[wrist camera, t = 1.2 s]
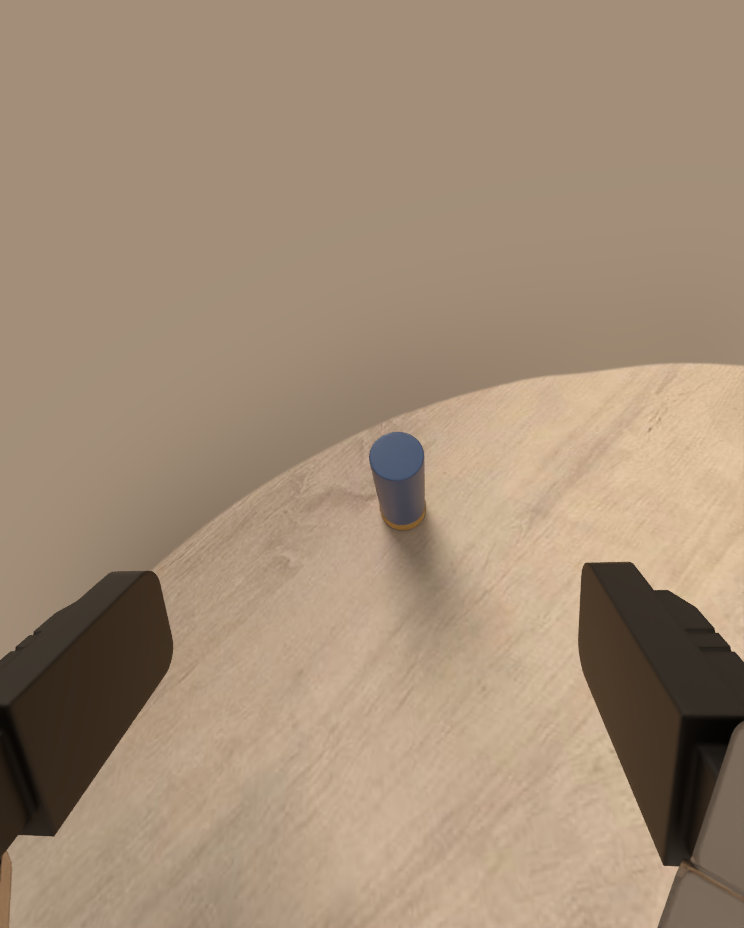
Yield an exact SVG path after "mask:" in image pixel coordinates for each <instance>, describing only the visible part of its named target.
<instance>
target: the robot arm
mask: <svg viewBox="0 0 744 928" xmlns="http://www.w3.org/2000/svg"><path fill="white" fill-rule="evenodd" d="M578 646H579V655H580V661H581V666H582V670H583V673H584V676H585V679H586V681H587V684H588V686H589V688H590V691H591V693H592V696H593V698H594V700H595V703H596V705H597V708H598V710H599V712H600V715H601V717H602V719H603V722H604V724H605V727H606V729H607V731H608V734H609V736H610V739H611V741H612V743H613V746H614V748H615V751H616V753H617V755H618V758H619V760H620V763H621V765H622V767H623V770H624V772H625V775H626V777H627V779H628V782H629V784H630V786H631V789H632V791H633V794H634V796H635V798H636V801H637V803H638V806H639V808H640V810H641V813H642V815H643V818H644V820H645V822H646V825H647V827H648V830H649V832H650V834H651V837H652V839H653V841H654V844H655V846H656V849H657V851H658V853H659V856H660V858H661V861H662V863H663V865H664V866H679V869H678V871H677V874H676V876H675V879H674V882H673V884H672V887H671V890H670V893H669V896H668V899H667V902H666V905H665V908H664V911H663V913H662V916H661V919H660V922H659V925H658V928H744V662H743V661H742V660H741V658H740V657H739V656H738V655H737V654H736V653H735V652H731V649H730V646H729V645H728V643H727V642H726V641H725V640H724V639H723V638H722V637H721V635H720V634H719V633H715V629H714V627H713V626H712V625H711V624H710V623H709V622H708V620H707V619H706V618H705V617H704V616H703V615H702V614H701V612H700V611H699V610H698V609H697V608H696V607H695V606H693V605H691V604H690V603H688V602H686V601H685V600H683V599H681V598H680V597H678V596H677V595H675V594H673V593H672V592H670V591H668V590H653V588H652V587H651V586H650V585H649V583H648V582H647V581H646V579H645V578H644V577H643V576H642V574H641V573H640V572H639V570H638V569H637V568H636V567H635V565H634V564H633V563H631V562H600V563H585V564H584V566H583V569H582V575H581V593H580V613H579V634H578ZM172 654H173V639H172V634H171V630H170V625H169V621H168V616H167V612H166V607H165V603H164V599H163V594H162V590H161V585H160V581H159V579H158V577H157V575H156V574H155V573H154V572H152V571H123V572H122V571H120V572H111V573H109V574H108V575H107V576H105V577H104V578H103V579H102V580H101V581H100V582H98V583H97V584H96V585H95V586H94V587H93V588H92V589H90V590H89V591H88V592H87V593H86V594H85V595H84V596H83V597H81V598H80V599H79V600H78V601H76V602H75V603H73V604H71V605H69V606H67V607H66V608H64V609H62V610H60V611H58V612H57V613H55V614H54V615H53V616H52V617H50V618H49V619H48V620H47V621H46V622H44V623H43V624H42V625H41V626H40V627H39V628H38V629H36V630H35V631H34V634H33V635H30V636H28V637H27V638H26V639H25V640H23V641H22V642H21V643H20V644H19V645H18V646H16V650H15V651H11V652H10V653H8V654H7V655H6V656H5V657H3V658H2V659H1V660H0V928H9V917H10V899H11V881H12V862H11V859H10V857H9V854H8V852H7V849H8V848H9V846H10V845H11V844H12V842H13V841H14V840H15V838H16V837H17V836H18V835H34V836H55V834H56V833H57V831H58V830H59V828H60V827H61V826H62V824H63V823H64V821H65V820H66V818H67V817H68V815H69V814H70V812H71V811H72V810H73V808H74V807H75V805H76V804H77V802H78V801H79V799H80V798H81V796H82V795H83V794H84V792H85V791H86V789H87V788H88V786H89V785H90V783H91V782H92V781H93V779H94V778H95V776H96V775H97V773H98V772H99V770H100V769H101V767H102V766H103V765H104V763H105V762H106V760H107V759H108V757H109V756H110V754H111V753H112V751H113V750H114V749H115V747H116V746H117V744H118V743H119V741H120V740H121V738H122V737H123V735H124V734H125V733H126V731H127V730H128V728H129V727H130V725H131V724H132V722H133V721H134V719H135V718H136V717H137V715H138V714H139V712H140V711H141V709H142V708H143V706H144V705H145V703H146V702H147V701H148V699H149V698H150V696H151V695H152V693H153V692H154V690H155V689H156V687H157V686H158V685H159V683H160V682H161V680H162V679H163V677H164V676H165V674H166V673H167V671H168V669H169V666H170V663H171V660H172Z"/></svg>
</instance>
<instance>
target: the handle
mask: <svg viewBox="0 0 744 928" xmlns="http://www.w3.org/2000/svg"><path fill="white" fill-rule="evenodd" d="M369 461H370V465H371V470H372V474H373V478H374V482H375V487H376V491H377V495H378V499H379V504H380V511H381V515H382V518H383V520H384V521H385V522H386V523H387V524H388V525H389V526H390V527H392V528H394V529H398V530H408V529H411V528H414V527H415V526H417V525H418V524H419V523H420V522H421V521H422V520H423V518H424V515H425V511H426V502H425V475H424V451H423V448H422V446H421V444H420V442H419V441H418V440H417V439H416V438H414V437H413V436H411V435H409V434H407V433H403V432H392V433H388V434H385V435H383V436H382V437H380V438H379V439H378V440H377V441H376V442H375V443H374V444H373V446H372V448H371V450H370V454H369Z"/></svg>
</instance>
